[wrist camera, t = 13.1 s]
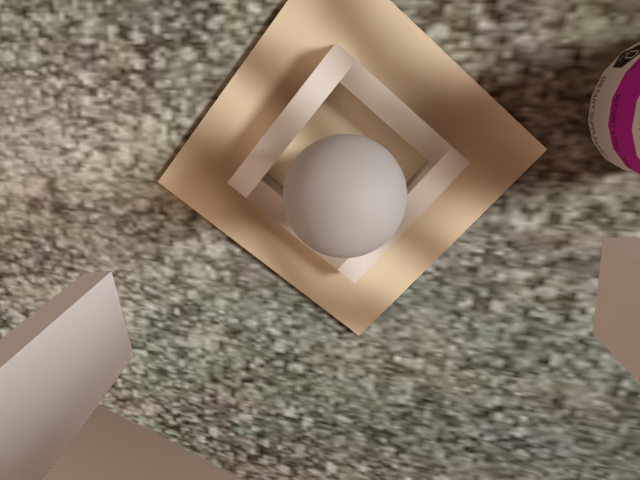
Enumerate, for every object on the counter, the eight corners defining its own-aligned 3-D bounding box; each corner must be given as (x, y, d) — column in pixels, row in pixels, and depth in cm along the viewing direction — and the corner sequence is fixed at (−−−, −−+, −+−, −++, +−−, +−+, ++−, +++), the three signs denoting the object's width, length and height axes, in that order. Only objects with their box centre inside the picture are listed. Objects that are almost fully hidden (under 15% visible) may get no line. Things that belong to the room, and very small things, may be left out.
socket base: (329, -55, 27) (328, -68, 25) (543, 147, 31) (562, 155, 28) (161, 179, 33) (144, 189, 30) (358, 331, 36) (359, 352, 33)
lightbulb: (411, 172, 31) (443, 223, 21) (338, 228, 32) (335, 302, 22) (351, 97, 30) (355, 112, 19) (279, 160, 31) (246, 204, 21)
